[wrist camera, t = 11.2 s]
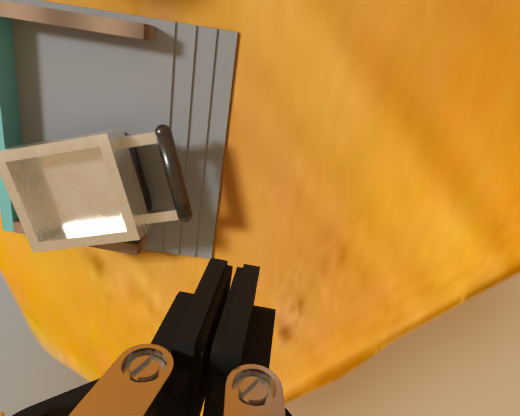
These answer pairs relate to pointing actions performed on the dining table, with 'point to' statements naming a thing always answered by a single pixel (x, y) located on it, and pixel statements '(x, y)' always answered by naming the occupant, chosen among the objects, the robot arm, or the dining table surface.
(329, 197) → the dining table surface
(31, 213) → the trolley
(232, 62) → the dock
